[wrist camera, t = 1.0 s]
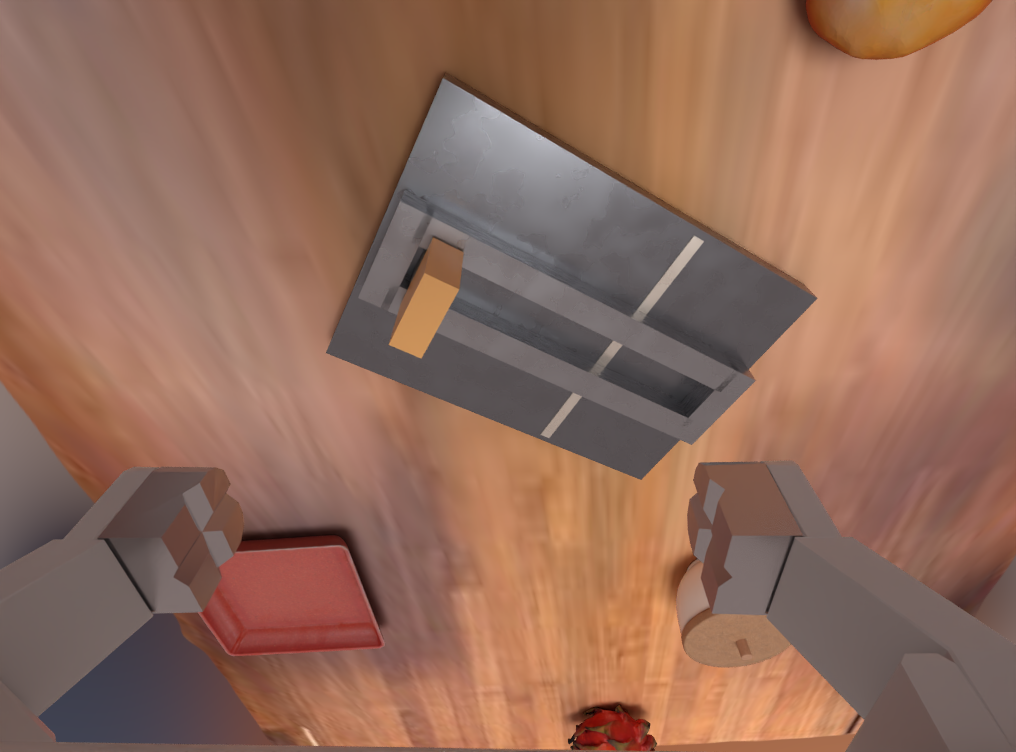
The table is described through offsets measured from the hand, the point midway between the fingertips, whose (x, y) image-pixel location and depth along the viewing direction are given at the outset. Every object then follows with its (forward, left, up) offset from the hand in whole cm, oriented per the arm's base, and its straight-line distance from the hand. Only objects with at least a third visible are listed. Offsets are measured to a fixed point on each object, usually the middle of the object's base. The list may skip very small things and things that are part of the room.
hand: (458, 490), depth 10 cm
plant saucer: (+3, -51, -30) cm, 59 cm away
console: (+11, -9, -29) cm, 32 cm away
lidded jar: (+42, -28, -29) cm, 58 cm away
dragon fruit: (+51, -61, -29) cm, 84 cm away
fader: (+1, -9, -27) cm, 28 cm away
